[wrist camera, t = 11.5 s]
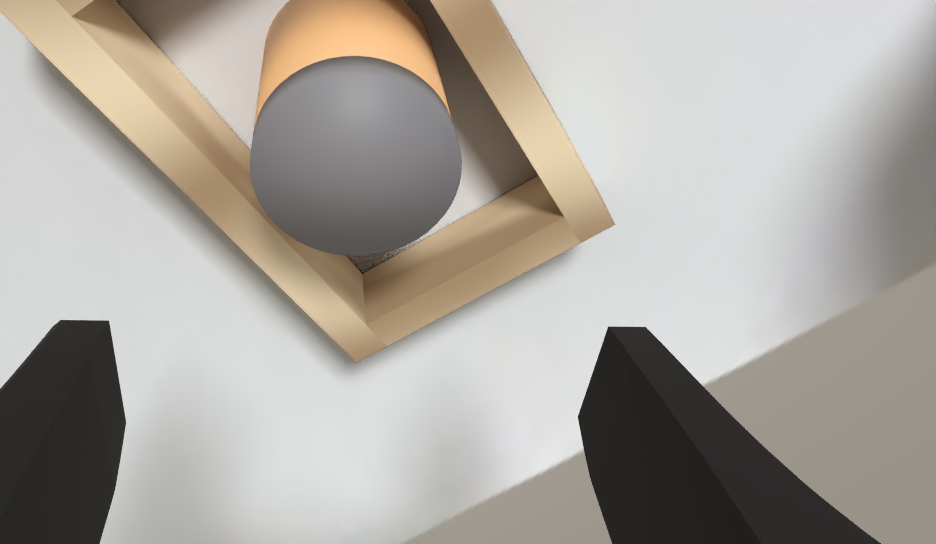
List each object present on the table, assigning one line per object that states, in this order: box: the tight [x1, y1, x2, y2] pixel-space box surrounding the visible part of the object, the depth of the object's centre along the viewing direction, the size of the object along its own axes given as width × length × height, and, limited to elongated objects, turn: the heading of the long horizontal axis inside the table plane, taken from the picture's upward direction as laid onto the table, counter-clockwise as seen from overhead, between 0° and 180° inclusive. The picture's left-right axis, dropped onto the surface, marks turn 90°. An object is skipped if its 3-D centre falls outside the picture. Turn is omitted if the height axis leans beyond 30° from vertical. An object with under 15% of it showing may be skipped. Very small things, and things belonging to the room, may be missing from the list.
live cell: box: [250, 0, 462, 256], centre depth 17 cm, size 4×4×5 cm
